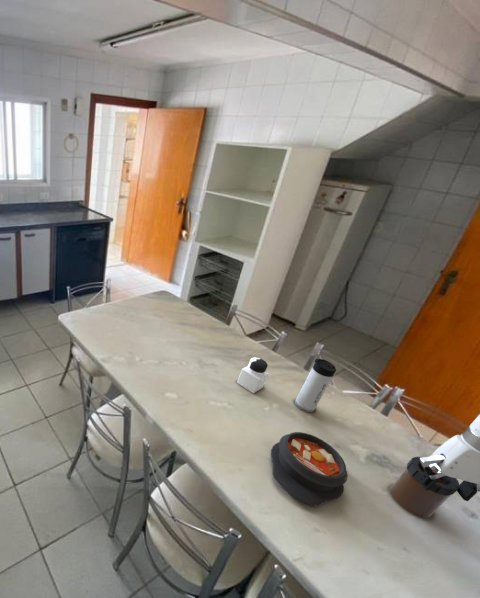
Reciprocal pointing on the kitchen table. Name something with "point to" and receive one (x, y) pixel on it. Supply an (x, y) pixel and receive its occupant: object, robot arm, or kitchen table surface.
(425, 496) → the brown cylinder
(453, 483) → the black segmented ring
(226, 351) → the kitchen table surface
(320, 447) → the casserole
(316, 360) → the travel mug
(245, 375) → the medicine bottle
